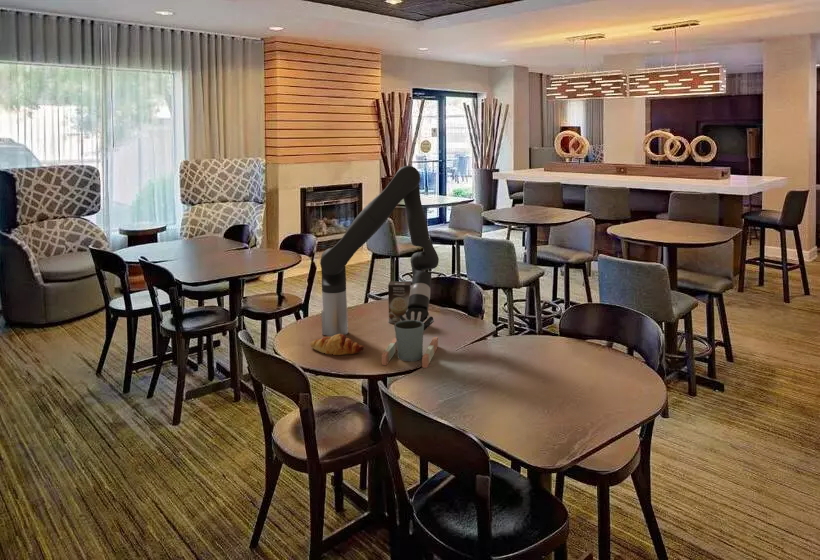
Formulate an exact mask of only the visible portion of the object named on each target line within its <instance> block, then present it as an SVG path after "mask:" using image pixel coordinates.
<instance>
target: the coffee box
mask: <svg viewBox="0 0 820 560" xmlns="http://www.w3.org/2000/svg"><path fill="white" fill-rule="evenodd" d="M411 286H412V281H389V283H388V286H387V287H388V288H387V291H388V296H387V297H388V299H387V300H388V324H395V323H397V322H399V321H401V320H400V318H399V316H400V315H402V316H403V315H404V314H405V313H406V311H407V309H408V302H409V295H410V290H411ZM406 319H407V320H409V319H408V318H407V317H406Z"/></svg>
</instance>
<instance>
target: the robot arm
mask: <svg viewBox="0 0 820 560" xmlns="http://www.w3.org/2000/svg"><path fill="white" fill-rule="evenodd" d="M420 183H421V175H420V172H419V171H418V169H417V168H416V167H414V166H413V165H412V166H411V165H403V166H401V167H399V169H398V170H397V171H396V173H395V175H393V178H391V181H389V183H388V184H387V186H386V187H385V188H384V189H383V190H382V191H381V192H380V193H379V194H378V195H376V197H374V198H373V199H372V200H371V201H370V202H369V203H368V204H367V205H366V206H365V207H364V208H363V209H362V210H361V211H360V212H359V214H358V215H356V217H355V218H354V220H353V221H352V222H351V223H350V225H349V227H348V228H347V230H346V232H345V233H344V235H342V237H341V239H340V240H338V242H337V243H336V244H335V245H334V246H333V247H329V248H327V249H325V250H324V251H323V253H322V254H321V257H320V261H319V262H320V263H319V264H320V268H321V294H322V295H321V296H322V297H321V298H322V299H321V300H322V310H321V311H320V313H321V315H320V317H321V333H322V334H321V335H322V336H325V337H332V336H334V335H337V334H343V335H345V336H346V335H347V334H349V330H348V329H349V326H348V322H349V321H348V301H347V274H346V271H347V270H346V269H347V268H346V265H347V264H348V263H349V262H350V260H351V258H352V257H353V256H354V255H355V253H356V252H357V251H358V250H360V248H361V247H363V246H364V245H365V244H366V243H367V242H368V241H369V240H370V239H371V238H372V237H373V236H374V235H375V233H376V232H377V231H379V230H380V228H381V227H382V226H383V225H384V224H385V222H386V221H387V220H388V219H389V217H390V216H391V215H392V213H393V211H394V210H395V208H396V207H397V205H399V204H400V203H401V202H402V200H403V202H404V208H405V212H406V219H407V220H406V221H407V226H408V232H409V237H410V242H411V245H412V246H413V247H420V248H422V249H423V250H424V251H417V252H414V253H413V254H412V255H411V256H410V267H411V273H412V280H411V290H410V295H409V302H408V309H407V311H406V313H405V314H404V315H403V316H402V315H400V316H399V318H400V320H401V321H404V320H407V319H406V317H407V318H408V319H409V320H417V321H421V322H423V323H424V332H425V331H426V330H427V329H428V328H429V327H430V326H431V325H432V324H433V323H434V322H435V320H434V316H432V315H430V314H429V306H430V299H431V285H432V275H431V274H430V273H429V271H426V270H433V269H436V268H437V267H438V266H439V262H440V260H439V255H438V254H437V251H436V249H435V246H434V245H433V243H432V241H431V239H430V233H429V228H428V223H427V221H426V216H425V213H424V212H425V211H424V208H423V205H422V201H421V199H422V198H421V191H420V189H421V188H420V187H421V186H420Z"/></svg>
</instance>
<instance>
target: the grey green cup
mask: <svg viewBox="0 0 820 560" xmlns="http://www.w3.org/2000/svg"><path fill="white" fill-rule="evenodd" d="M394 332H395V337H396V340H397V341H396V343H397V351H396V352H397V358H398V359H399V360H400V361H403V362H416V361H419V360H422V357H423V355H424V354H423V348H424V345H423V344H424V343H423V342H424V332H425V331H424V322H421V321H417V320H404V321H399V322H397V323H394Z"/></svg>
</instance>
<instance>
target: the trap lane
mask: <svg viewBox="0 0 820 560" xmlns="http://www.w3.org/2000/svg"><path fill="white" fill-rule="evenodd" d="M396 341H397V340H396V336H394V338H393V339H392V340H391V342H390V343H389V345H388V346H387V347H386V349H385V350H384V352H383V353H382V354H381V366H387V365H388V364H389V362H390V361H391V359H392V358H393V356H394V355H395V354H396V352H397V351H396V350H397V343H396ZM437 347H439V337H438V336H433V338H432V339H431V342H430V343H429V344H428V347H427V349H426V350H425V352H424V354H422V358H421V362H422V363H421V364H422V368H424V369H425V368H426V369H427V368H428V367H429V365H430V363H431V361H432V359H433V357H434V355H435V353H436V352H437V349H438V348H437ZM387 363H388V364H387Z"/></svg>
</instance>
